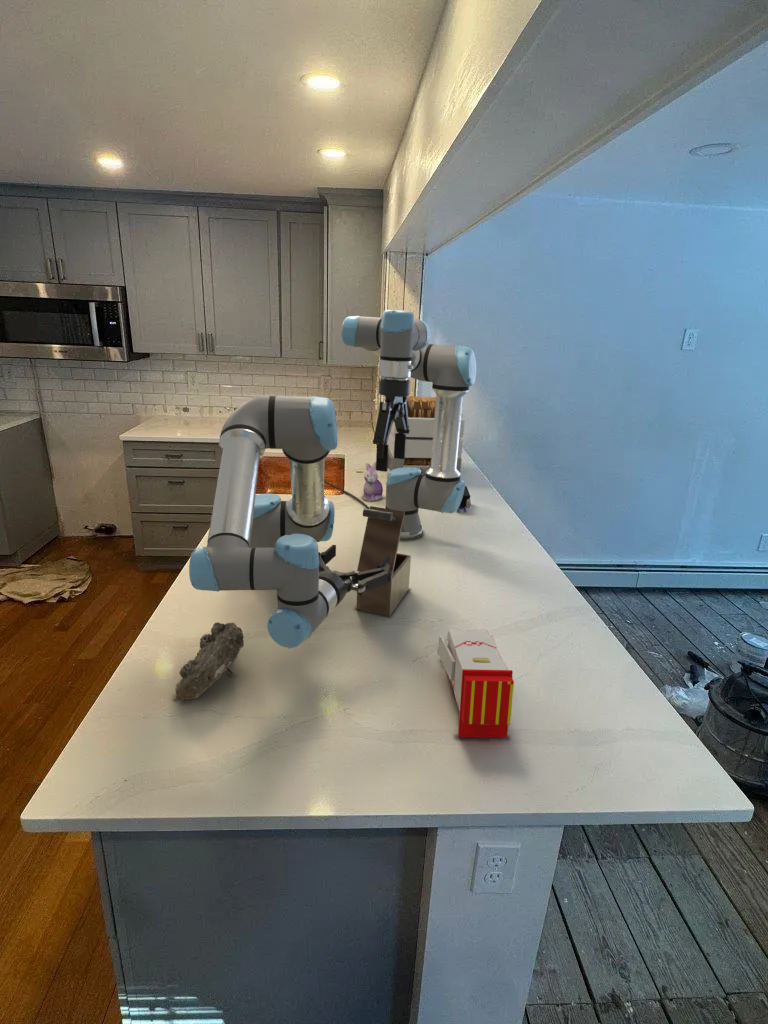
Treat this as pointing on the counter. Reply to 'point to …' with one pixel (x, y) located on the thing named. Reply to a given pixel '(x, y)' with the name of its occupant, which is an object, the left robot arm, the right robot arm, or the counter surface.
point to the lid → (380, 537)
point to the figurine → (372, 484)
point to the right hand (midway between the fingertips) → (390, 464)
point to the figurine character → (465, 500)
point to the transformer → (419, 435)
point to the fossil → (210, 660)
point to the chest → (388, 590)
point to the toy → (478, 682)
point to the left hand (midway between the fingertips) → (361, 555)
